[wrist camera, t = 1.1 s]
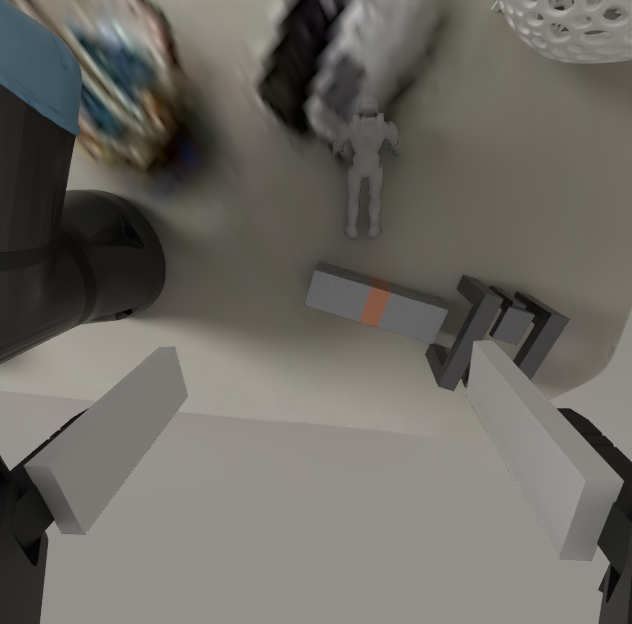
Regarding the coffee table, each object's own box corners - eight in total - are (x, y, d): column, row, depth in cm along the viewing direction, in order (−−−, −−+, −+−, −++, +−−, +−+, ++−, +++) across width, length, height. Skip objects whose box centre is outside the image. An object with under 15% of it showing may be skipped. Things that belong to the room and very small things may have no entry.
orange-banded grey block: (309, 293, 37) (304, 305, 33) (319, 261, 35) (314, 269, 32) (425, 328, 37) (432, 344, 33) (439, 297, 35) (448, 310, 31)
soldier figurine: (391, 217, 35) (405, 85, 27) (394, 241, 31) (413, 94, 23) (334, 217, 36) (332, 88, 28) (330, 241, 32) (326, 99, 24)
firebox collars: (425, 354, 38) (438, 386, 32) (463, 275, 34) (486, 294, 28) (486, 373, 38) (511, 408, 31) (531, 295, 34) (569, 319, 28)
